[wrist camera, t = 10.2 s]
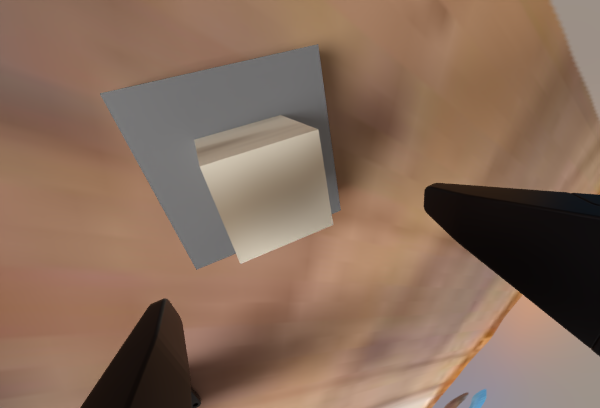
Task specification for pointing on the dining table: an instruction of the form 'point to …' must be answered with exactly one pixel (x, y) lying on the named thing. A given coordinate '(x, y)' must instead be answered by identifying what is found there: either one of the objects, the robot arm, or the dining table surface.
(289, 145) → the cube
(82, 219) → the dining table surface
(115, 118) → the base
